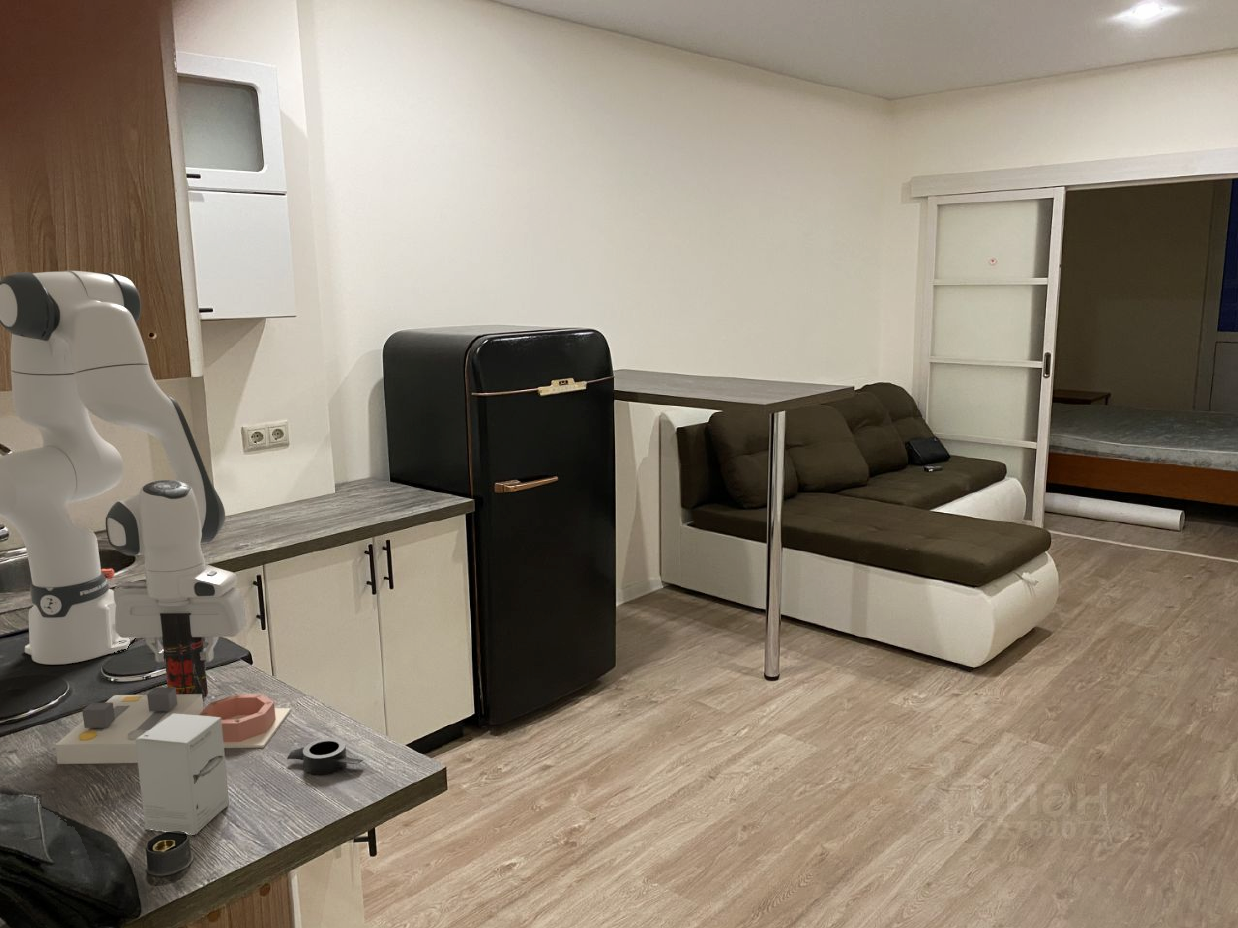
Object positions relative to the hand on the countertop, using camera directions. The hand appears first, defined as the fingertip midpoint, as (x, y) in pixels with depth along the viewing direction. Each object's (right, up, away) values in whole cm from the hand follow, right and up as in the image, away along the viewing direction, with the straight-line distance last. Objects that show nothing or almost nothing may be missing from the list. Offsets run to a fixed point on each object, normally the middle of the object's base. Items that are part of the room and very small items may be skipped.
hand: (185, 660), depth 153 cm
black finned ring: (+30, -11, -21) cm, 38 cm away
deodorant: (0, -6, +1) cm, 6 cm away
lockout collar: (+13, -8, -10) cm, 19 cm away
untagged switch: (+2, -5, -11) cm, 12 cm away
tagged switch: (-5, -6, -16) cm, 18 cm away
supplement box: (+16, -13, -34) cm, 40 cm away
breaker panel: (-2, -9, -13) cm, 16 cm away
